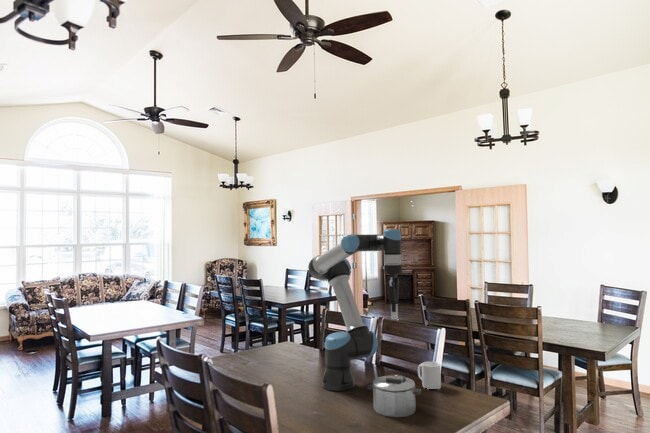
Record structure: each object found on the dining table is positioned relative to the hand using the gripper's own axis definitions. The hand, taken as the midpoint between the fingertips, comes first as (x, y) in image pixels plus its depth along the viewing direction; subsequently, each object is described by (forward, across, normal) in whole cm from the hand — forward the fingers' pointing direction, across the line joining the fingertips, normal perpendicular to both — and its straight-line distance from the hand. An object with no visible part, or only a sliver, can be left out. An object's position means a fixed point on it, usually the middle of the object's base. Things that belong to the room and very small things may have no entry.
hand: (394, 319), depth 179 cm
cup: (+33, +17, -11) cm, 38 cm away
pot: (+32, -14, -2) cm, 35 cm away
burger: (+33, +13, +4) cm, 35 cm away
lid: (+23, -14, -2) cm, 27 cm away
